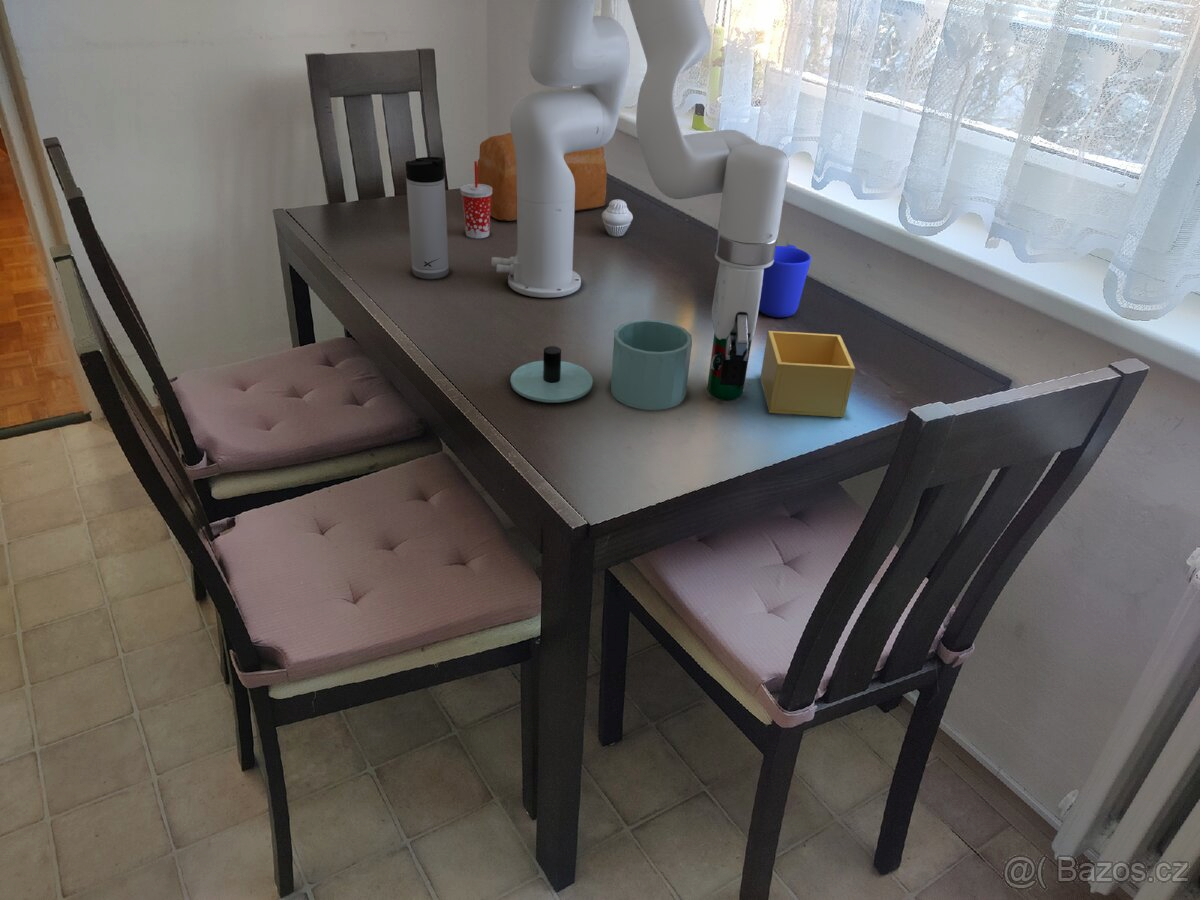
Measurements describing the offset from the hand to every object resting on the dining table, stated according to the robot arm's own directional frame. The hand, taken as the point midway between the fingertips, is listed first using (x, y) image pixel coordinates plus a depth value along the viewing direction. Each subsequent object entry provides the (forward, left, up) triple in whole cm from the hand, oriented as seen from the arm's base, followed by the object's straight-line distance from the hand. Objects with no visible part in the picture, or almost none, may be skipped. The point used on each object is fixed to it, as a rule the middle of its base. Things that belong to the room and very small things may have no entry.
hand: (728, 367), depth 123 cm
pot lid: (-24, -1, -4) cm, 24 cm away
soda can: (0, 0, -4) cm, 4 cm away
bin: (+11, 0, -4) cm, 12 cm away
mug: (+12, +31, -4) cm, 34 cm away
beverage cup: (-43, +58, -4) cm, 73 cm away
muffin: (-16, +63, -4) cm, 66 cm away
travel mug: (-48, +37, -4) cm, 61 cm away
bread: (-32, +77, -4) cm, 84 cm away
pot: (-11, -1, -4) cm, 12 cm away
